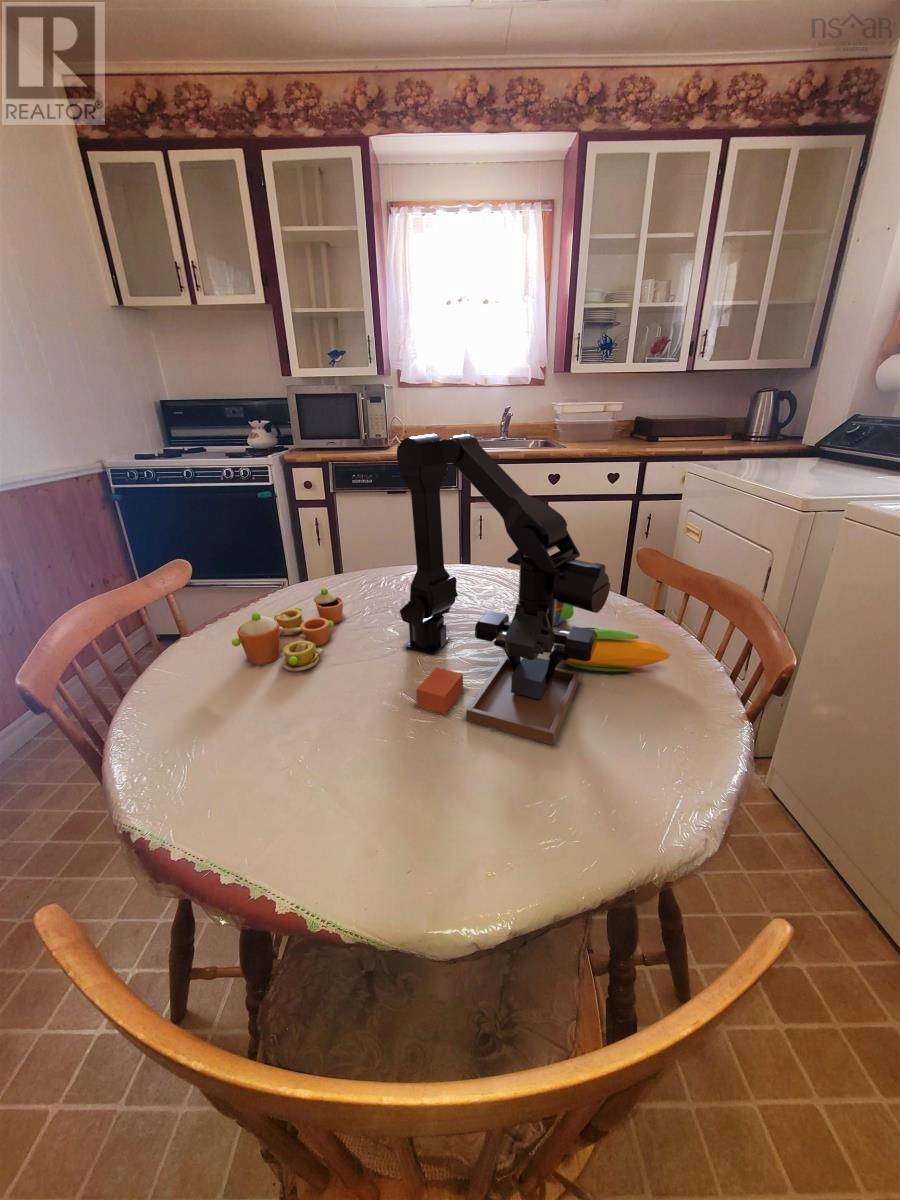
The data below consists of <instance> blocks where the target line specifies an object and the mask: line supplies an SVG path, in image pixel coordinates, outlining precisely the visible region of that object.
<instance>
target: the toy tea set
mask: <svg viewBox="0 0 900 1200" xmlns="http://www.w3.org/2000/svg"><path fill="white" fill-rule="evenodd" d="M313 602H314V603H315V606H316V609H317V612H318V613H317V614H318V615H319V617H311V618H308V619H306V620H304V619H303V612H302V608H301V607H300V606H297V607H295V608H289V609H288V608H287V609H284V610H281V611H279V612H278V613H276V614H275V615H274V616H273V618H271V617H268V616H265V615H261V613H260V612H256V611H255V612H253V613H252V614H251V618H248V619H247V620H246V621H244V623H243V624H241V625H240V626H239V627H238V628H237V633H236V634H237V636H238V637H235V638H232V640H231V645H232V646H233V647H238V646H240V645H241V646H242V649H243V651H244V653H245V656H246V658H247V660H248V662H249V663H251V664H253V665H257V666H259V665H260V666H261V665H267V664H271V663H273V662H274V661H277V659H278V658H279V657H280V654H281V650H280V649H281V642H280V641H281V640H280V639H281V636H292V635H295V634H299V633H301V634H299V639H301V640H296V641H293V642H290V643H288V644H287V645H285V646H284V647H283V649H282V651H283V655H284V657H283V658H282V660H281V666H282V668H283V669H285V670H287V671H290V672H301V671H305V670H308V669H311V668H312V667H314V666H315V665H317V663H318V662H319V659H320V656H319V655H322V654H324V649H323V648H321V647H318V646H322V645H325V644H327V642H328V641H329V637H330V629H332V628H333V627H334V625H335V624H337V623H340V622H341V621H342V620H343V608H344V599H343V598H341V597H339V596H337V595H336V594H335V593H333V592H330V591H329V589H328V588H326V587H322V588H321V589H320V593H317V594H316V595H315V596H314V597H313ZM303 639H304V640H303Z"/></svg>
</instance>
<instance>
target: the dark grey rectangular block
mask: <svg viewBox="0 0 900 1200" xmlns="http://www.w3.org/2000/svg"><path fill="white" fill-rule="evenodd" d="M548 665H549V659H545V658H541V657H537V658H536V659H534V660H528V659H526V658H522V659H521V662H520V663H519V665H518V666H517V668H516V670H515V671H514V673H513V674H512V683H511V693H515V694H519V695H523V696H527V697H531V698H535V699H539V700H541V698H542V696H543V694H544V692H545V690H546V688H547V686H548V684H549V683H548V684H546V674H547V669H548ZM551 678H552V677H551ZM550 680H551V679H550ZM549 682H550V681H549Z"/></svg>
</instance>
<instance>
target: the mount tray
mask: <svg viewBox="0 0 900 1200" xmlns="http://www.w3.org/2000/svg"><path fill="white" fill-rule="evenodd" d="M513 673H514V672H513V669H512V667H511V664H510V661H509V659H508V656H503V657H502V659H501V660H500V662H499V663H498V665H497V666H496V668H495V669H494V670H493V671H492V673H491V674H490V676H489V677H488V679H487V680H486V681H485V683H484V684H483V686H482V687H481V689H480V690H479V691H478V693H477V694H476V696H475V697H474V699H472V701H471V703H470V704H469V705H468V707H467V708H466V722H469V723H474V724H477V725H481V726H484V727H487V728H491V729H495V730H497V731H502V732H505V733H508V734H511V735H516V736H517V737H518V736H519V737H522V738H525V739H529V740H533V741H535V742H536V741H537V742H540V743H544V744H546V745H550V746H554V744H555V742H556V739H557V737H558V735H559V731H560V730H561V728H562V725H563V722H564V720H565V717H566V714H567V712H568V710H569V708H570V705H571V703H572V701H573V697H574V695H575V693H576V690H577V688H578V685H579V681H580V672H577V671H573V670H568V669H563V668H559V667H556V669H555V671H554V673H553V675H552V678H551V680H550V682H549V684H548V686H547V688H546V690H545V692H544V694H543V696H542V698H541V700H539V699H535V698H531V697H527V696H523V695H519V694H515V693H511V683H512V674H513Z"/></svg>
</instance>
